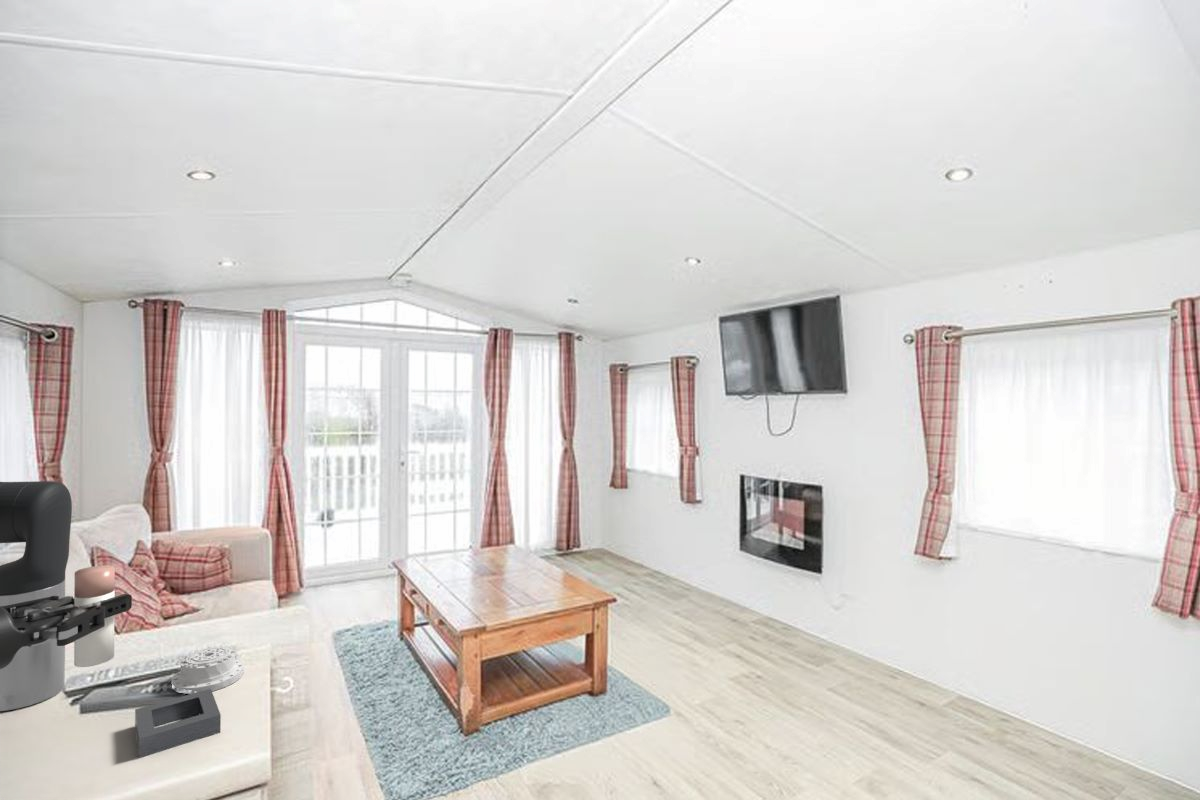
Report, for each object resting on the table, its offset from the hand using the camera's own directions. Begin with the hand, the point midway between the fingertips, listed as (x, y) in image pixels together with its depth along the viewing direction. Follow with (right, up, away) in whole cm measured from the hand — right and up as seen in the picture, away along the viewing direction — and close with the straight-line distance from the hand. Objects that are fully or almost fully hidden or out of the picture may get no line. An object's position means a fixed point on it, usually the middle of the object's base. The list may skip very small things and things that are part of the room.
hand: (117, 598), depth 79 cm
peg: (-1, -7, -2) cm, 8 cm away
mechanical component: (+1, -20, +17) cm, 26 cm away
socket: (+6, -19, +3) cm, 21 cm away
